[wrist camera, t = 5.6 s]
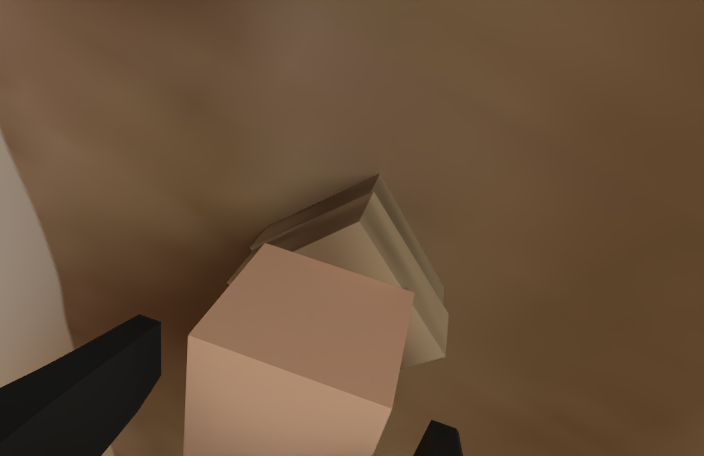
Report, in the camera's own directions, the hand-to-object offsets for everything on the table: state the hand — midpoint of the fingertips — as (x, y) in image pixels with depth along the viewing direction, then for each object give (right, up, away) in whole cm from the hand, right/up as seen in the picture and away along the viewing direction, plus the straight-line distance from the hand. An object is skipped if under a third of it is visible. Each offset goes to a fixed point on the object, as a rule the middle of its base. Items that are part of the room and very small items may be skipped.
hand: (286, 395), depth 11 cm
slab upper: (+2, +2, +4) cm, 5 cm away
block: (+1, +1, +2) cm, 3 cm away
